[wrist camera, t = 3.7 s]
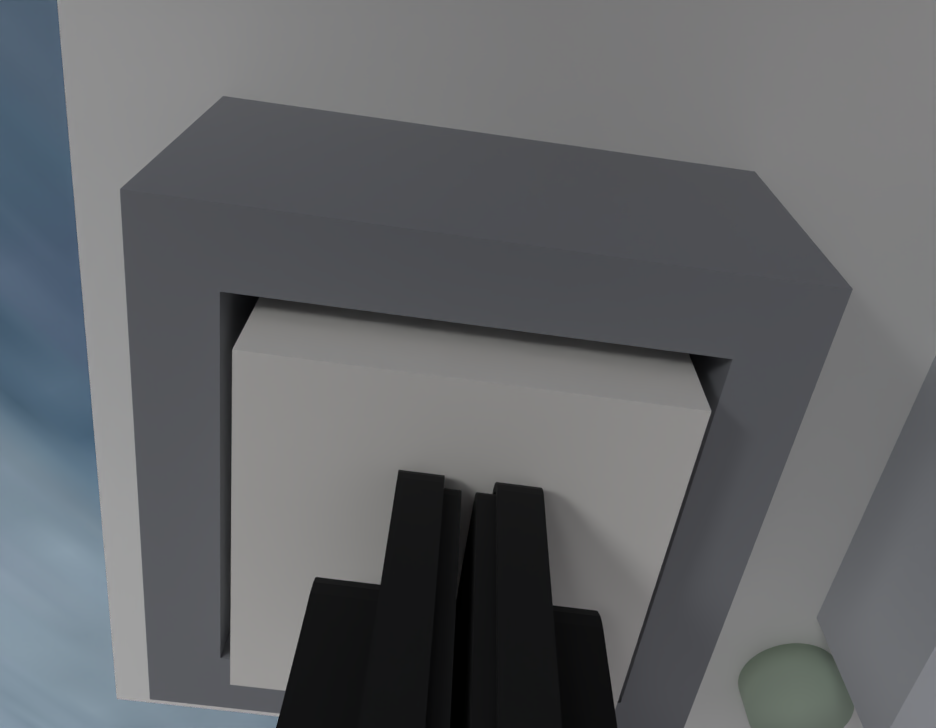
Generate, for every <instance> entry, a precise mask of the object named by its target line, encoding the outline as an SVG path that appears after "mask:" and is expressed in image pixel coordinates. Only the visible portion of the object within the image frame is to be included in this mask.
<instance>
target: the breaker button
mask: <svg viewBox="0 0 936 728" xmlns="http://www.w3.org/2000/svg"><path fill="white" fill-rule="evenodd" d="M710 414H711V409H710V406H709V404H708V401H707V399H706V396H705V394H704V391H703V389H702V386H701V384H700V381H699V378H698V376H697V373H696V371H695V368H694V366H693V363H692V361H691V358H690V356H689V353H682V352H674V351H667V350H659V349H652V348H644V347H636V346H629V345H621V344H614V343H606V342H598V341H591V340H583V339H576V338H568V337H560V336H553V335H545V334H538V333H530V332H523V331H515V330H507V329H500V328H492V327H485V326H477V325H469V324H462V323H454V322H447V321H439V320H431V319H424V318H416V317H409V316H401V315H393V314H386V313H378V312H371V311H363V310H356V309H348V308H340V307H333V306H325V305H318V304H310V303H302V302H295V301H287V300H280V299H272V298H264V297H259V299H258V301H257V303H256V305H255V307H254V309H253V311H252V313H251V315H250V316H249V318H248V320H247V322H246V324H245V326H244V328H243V330H242V332H241V334H240V336H239V338H238V339H237V341H236V343H235V345H234V347H233V349H232V460H231V618H230V685H238V686H247V687H256V688H265V689H274V690H283V691H286V687H287V683H288V679H289V675H290V671H291V667H292V663H293V659H294V655H295V651H296V647H297V643H298V639H299V635H300V631H301V627H302V623H303V619H304V615H305V611H306V607H307V603H308V599H309V595H310V591H311V588H312V584H313V581H314V579H315V577H321V578H329V579H338V580H346V581H354V582H363V583H371V584H379V585H380V584H381V578H382V571H383V565H384V559H385V552H386V546H387V539H388V533H389V527H390V520H391V514H392V507H393V501H394V495H395V488H396V482H397V476H398V470H405V471H413V472H421V473H429V474H437V475H445V481H444V488H448V489H456V490H461V491H462V498H461V517H460V537H459V557H458V577H457V594H458V588H459V582H460V576H461V571H462V565H463V559H464V554H465V548H466V542H467V537H468V531H469V525H470V520H471V514H472V508H473V503H474V497H475V494H476V492H480V493H488V494H492V493H493V488H494V485H495V483H496V482H501V483H509V484H517V485H525V486H533V487H541V488H542V489H543V493H544V502H545V515H546V528H547V540H548V553H549V566H550V578H551V591H552V603H553V605H555V606H563V607H571V608H580V609H588V610H596V611H598V613H599V614H600V616H601V620H602V625H603V630H604V637H605V644H606V651H607V658H608V665H609V672H610V679H611V686H612V693H613V700H614V707H615V709H616V706H617V703H618V699H619V696H620V693H621V690H622V687H623V684H624V681H625V678H626V675H627V672H628V668H629V665H630V662H631V659H632V656H633V653H634V650H635V647H636V644H637V641H638V637H639V634H640V631H641V628H642V625H643V622H644V619H645V616H646V613H647V610H648V606H649V603H650V600H651V597H652V594H653V591H654V588H655V585H656V582H657V579H658V575H659V572H660V569H661V566H662V563H663V560H664V557H665V554H666V551H667V548H668V545H669V541H670V538H671V535H672V532H673V529H674V526H675V523H676V520H677V517H678V514H679V510H680V507H681V504H682V501H683V498H684V495H685V492H686V489H687V486H688V483H689V479H690V476H691V473H692V470H693V467H694V464H695V461H696V458H697V455H698V452H699V448H700V445H701V442H702V439H703V436H704V433H705V430H706V427H707V424H708V421H709V417H710ZM456 599H457V596H456Z"/></svg>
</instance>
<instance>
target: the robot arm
mask: <svg viewBox="0 0 936 728" xmlns="http://www.w3.org/2000/svg"><path fill="white" fill-rule="evenodd" d="M444 481H445V475H437V474H429V473H421V472H413V471H405V470H398V476H397V482H396V488H395V495H394V501H393V507H392V514H391V520H390V527H389V533H388V539H387V546H386V552H385V559H384V565H383V571H382V578H381V584H380V585H379V584H371V583H363V582H354V581H346V580H338V579H329V578H321V577H315V579H314V581H313V584H312V588H311V591H310V595H309V599H308V603H307V607H306V611H305V615H304V619H303V623H302V627H301V631H300V635H299V639H298V643H297V647H296V651H295V655H294V659H293V663H292V667H291V671H290V675H289V679H288V683H287V687H286V691H285V695H284V699H283V703H282V707H281V711H280V715H279V719H278V723H277V727H276V728H617V721H616V714H615V707H614V700H613V693H612V686H611V679H610V672H609V665H608V658H607V651H606V644H605V637H604V630H603V625H602V620H601V616H600V614H599V613H598V611H596V610H588V609H580V608H571V607H563V606H555V605H553V603H552V591H551V578H550V566H549V553H548V540H547V528H546V515H545V502H544V493H543V489H542V488H541V487H533V486H525V485H517V484H509V483H501V482H496V483H495V485H494V488H493V493H492V494H488V493H480V492H476V494H475V497H474V503H473V508H472V514H471V520H470V525H469V531H468V537H467V542H466V548H465V554H464V559H463V565H462V571H461V576H460V582H459V588H458V594H457V577H458V557H459V537H460V517H461V498H462V491H461V490H456V489H448V488H444ZM456 596H457V599H456Z"/></svg>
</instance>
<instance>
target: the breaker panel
mask: <svg viewBox="0 0 936 728" xmlns="http://www.w3.org/2000/svg"><path fill="white" fill-rule="evenodd" d="M57 4H58V16H59V28H60V39H61V51H62V63H63V74H64V86H65V98H66V109H67V121H68V133H69V144H70V156H71V168H72V179H73V191H74V203H75V215H76V226H77V238H78V250H79V261H80V273H81V285H82V296H83V308H84V320H85V331H86V343H87V355H88V366H89V378H90V390H91V401H92V413H93V425H94V436H95V448H96V460H97V471H98V483H99V495H100V506H101V518H102V530H103V541H104V553H105V565H106V576H107V588H108V600H109V611H110V623H111V635H112V646H113V658H114V670H115V681H116V693H117V699H123V700H132V701H141V702H150V703H160V704H169V705H178V706H187V707H196V708H205V709H214V710H223V711H233V712H242V713H251V714H260V715H269V716H278V717H279V715H280V711H281V707H282V703H283V699H284V695H285V691H283V690H274V689H265V688H256V687H247V686H238V685H230V618H231V460H232V349H233V347H234V345H235V343H236V341H237V339H238V338H239V336H240V334H241V332H242V330H243V328H244V326H245V324H246V322H247V320H248V318H249V316H250V315H251V313H252V311H253V309H254V307H255V305H256V303H257V301H258V299H259V297H264V298H272V299H280V300H287V301H295V302H302V303H310V304H318V305H325V306H333V307H340V308H348V309H356V310H363V311H371V312H378V313H386V314H393V315H401V316H409V317H416V318H424V319H431V320H439V321H447V322H454V323H462V324H469V325H477V326H485V327H492V328H500V329H507V330H515V331H523V332H530V333H538V334H545V335H553V336H560V337H568V338H576V339H583V340H591V341H598V342H606V343H614V344H621V345H629V346H636V347H644V348H652V349H659V350H667V351H674V352H682V353H689V356H690V358H691V361H692V363H693V366H694V368H695V371H696V373H697V376H698V378H699V381H700V384H701V386H702V389H703V391H704V394H705V396H706V399H707V401H708V404H709V406H710V409H711V414H710V417H709V421H708V424H707V427H706V430H705V433H704V436H703V439H702V442H701V445H700V448H699V452H698V455H697V458H696V461H695V464H694V467H693V470H692V473H691V476H690V479H689V483H688V486H687V489H686V492H685V495H684V498H683V501H682V504H681V507H680V510H679V514H678V517H677V520H676V523H675V526H674V529H673V532H672V535H671V538H670V541H669V545H668V548H667V551H666V554H665V557H664V560H663V563H662V566H661V569H660V572H659V575H658V579H657V582H656V585H655V588H654V591H653V594H652V597H651V600H650V603H649V606H648V610H647V613H646V616H645V619H644V622H643V625H642V628H641V631H640V634H639V637H638V641H637V644H636V647H635V650H634V653H633V656H632V659H631V662H630V665H629V668H628V672H627V675H626V678H625V681H624V684H623V687H622V690H621V693H620V696H619V699H618V703H617V706H616V709H615V714H616V721H617V728H936V0H57Z"/></svg>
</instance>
